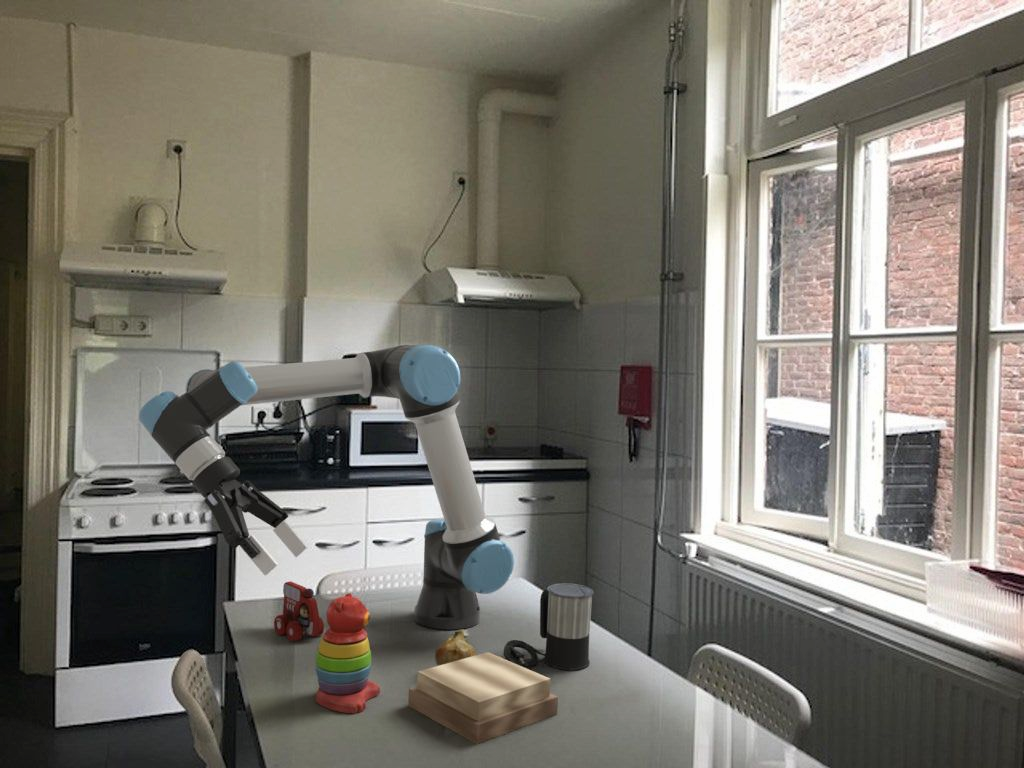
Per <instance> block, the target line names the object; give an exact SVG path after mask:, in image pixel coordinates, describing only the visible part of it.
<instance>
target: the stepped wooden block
mask: <svg viewBox="0 0 1024 768" xmlns="http://www.w3.org/2000/svg"><path fill="white" fill-rule="evenodd" d="M416 681H417V682H416V686H412V687H409V688H408V701H407V703H408V704H407V706H408V707H410V708H411V709H413V710H415V711H416V710H417V712H418V713H420V714H422V715H424V716H425V717H427V718H429V719H431V720H433V721H434V722H436V723H438V724H440V725H442V726H444V727H445V728H447V729H449V730H450V731H452V732H453V733H456V734H458V735H459V736H461V737H463V738H464V739H466V740H469V741H471V742H472V743H474V744H476V745H478V744H479V745H480V744H481V743H484V742H486V741H490V740H492V739H495V738H498V737H500V736H503V735H505V734H508V733H511V732H514V731H517V730H519V729H521V728H524V727H528V726H530V725H532V724H535V723H538V722H540V721H543V720H546V719H548V718H551V717H553V716H556V715H558V705H559V696H557V695H555V694H553V693H551V678H550V677H547V676H545V675H543V674H540V673H538V672H536V671H534V670H530V669H529V668H527V667H522V666H519V665H517V664H515V663H512V662H510V661H508V660H506V658H503V657H501V656H498V655H497V654H496V655H495V654H493V653H491V652H488V651H487V652H483V653H480V654H479V653H478V654H476V656H472V657H468V658H465V659H461V660H458V661H454V662H450V663H447V664H443V665H440V666H438V665H437V666H433V667H429V668H426V669H422V670H419V671H418V670H417V680H416Z"/></svg>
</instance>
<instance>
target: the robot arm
mask: <svg viewBox="0 0 1024 768" xmlns="http://www.w3.org/2000/svg"><path fill="white" fill-rule="evenodd" d="M186 381H187V382H186V384H185V390H184V391H185V392H184V393H182V394H181V395H177V394H176V393H175V392H173V391H169V390H167V391H163V392H161V393H160V394H158V395H157V394H156V395H155V396H154V397H152V398H151V399H149V400H148V401H147V402H146V403H145V404H144V405H143V406H142V407H141V409H140V411H139V414H138V420H139V422H140V423H141V424H142V425H143V427H144V428H145V430H146V431H147V432H148V433H149V435H150V436H151V437H152V438H153V440H154V441H155V442H156V443H157V444H158V446H159V447H160V448H161V449H162V450H163V451H164V453H165V454H166V455H167V456H168V457H169V458H170V459H171V460H172V461H173V462H174V464H175V465H176V466H177V467H178V468H179V470H180V471H179V473H180V474H182V475H185V477H186V478H187V479H188V480H189V481H192V486H193V487H194V488H195V489H196V490H197V491H198V493H199V494H200V495H201V496H202V497H203V498H204V503H205V504H206V505H207V506H208V507H209V509H210V511H211V513H212V514H213V516H214V519H215V521H216V523H217V525H218V527H219V530H220V531H221V533H222V536H223V538H224V540H225V542H226V543H227V544H228V545H229V546H230V548H232V549H237V547H240V548H241V549H242V551H243V552H244V553H245V554H246V555H247V557H249V559H250V560H251V561H252V562H253V564H254V565H255V566H256V567H257V568H258V570H259V571H260V572H261V573H262V574H263V575H264V576H267V575H268V574H270V573H271V572H272V571H273V570H274V569H275V568H276V567H277V566H278V565H279V563H278V562H277V561H276V560H275V558H274V557H273V556H272V554H271V553H270V552H269V551H268V550H267V549H266V548H265V547H264V545H263V544H262V543H261V542H260V540H258V539H257V537H256V536H255V535H254V534H251V535H250V533H249V530H248V527H247V526H248V525H247V523H246V520H245V516H244V513H245V514H246V513H249V514H251V515H253V516H254V517H256V518H257V519H260V521H262V522H264V523H266V524H268V526H271V527H272V528H273V529H272V531H273V532H274V533H275V535H276V536H277V537H278V538H279V539H280V540H281V542H282V543H283V544H284V546H286V547H287V549H288V550H289V551H290V553H292V555H293V556H294V557H295V558H298V557H299V556H300V555H301V554H302V553H303V552H304V551H305V550H306V549H307V548H308V545H307V544H306V543H305V541H303V539H302V538H301V537H300V536H299V534H298V533H297V532H296V531H295V530H294V529H293V527H291V525H290V524H289V523H288V522H287V520H286V519H288V518H289V514H288V512H286V511H285V510H284V509H283V508H281V507H280V506H279V505H278V504H276V502H274V501H273V500H272V499H270V498H269V497H268V496H266V495H265V494H264V493H263V492H261V491H260V490H259V489H258V488H257V487H256V486H255V485H254V484H253V483H252V482H251V481H250V480H248V479H247V480H245V482H243V483H241V482H240V481H239V480H238V477H239V475H240V473H241V470H240V468H239V467H238V466H237V465H236V464H235V462H234V461H233V460H232V459H231V458H230V457H229V456H226V451H225V450H224V449H223V448H222V446H220V444H219V443H217V441H216V440H215V438H213V437H212V436H211V434H210V433H208V430H209V429H210V428H212V427H213V426H214V425H216V424H217V423H218V422H220V421H221V420H222V419H224V418H225V417H227V416H228V415H230V414H231V413H232V412H233V411H235V410H237V409H238V408H239V407H242V406H249V405H250V406H251V405H258V404H260V405H261V404H268V403H277V402H279V403H280V402H287V401H297V400H298V401H299V400H306V399H307V400H308V399H316V398H317V399H318V398H325V397H326V398H327V397H335V396H337V397H338V396H344V395H345V396H348V395H356V394H357V395H358V394H359V395H360V396H361V397H363V398H373V397H379V398H381V397H383V398H391V399H396V400H397V399H399V401H400V404H401V407H402V411H403V414H404V418H405V419H407V420H409V421H410V422H411V423H413V424H414V425H415V428H416V431H417V434H418V439H419V441H420V445H421V447H422V451H423V454H424V455H423V456H424V457H425V461H426V463H427V467H428V470H429V474H430V478H431V480H432V483H433V484H432V485H433V487H434V491H435V494H436V497H437V500H438V503H439V507H440V509H441V513H442V516H443V518H440V519H439V518H438V519H432V520H430V521H427V522H426V525H425V530H424V531H425V532H424V534H423V538H424V549H423V550H424V552H423V553H424V554H423V577H422V578H423V581H422V583H423V584H422V588H421V590H420V593H419V597H418V600H417V604H416V605H415V606H414V612H413V614H414V615H413V620H414V622H415V623H417V624H419V625H420V626H423V627H426V628H431V629H436V630H437V629H438V630H463V629H467V628H471V627H474V626H476V625H478V624H479V623H480V622H481V612H482V611H481V607H480V605H479V600H478V597H477V594H479V595H489V594H492V593H493V594H494V593H496V592H497V591H499V590H500V589H501V588H503V587H505V585H506V584H507V582H508V581H509V579H510V577H511V575H512V574H513V572H514V565H515V557H514V554H513V551H512V550H511V548H510V546H509V545H508V544H507V543H506V542H504V541H503V540H501V537H500V535H499V532H498V531H499V530H498V528H497V525H496V522H495V520H494V518H491V517H489V516H487V515H486V513H485V509H484V506H483V503H482V499H481V496H480V493H479V488H478V486H477V482H476V479H475V476H474V472H473V469H472V465H471V462H470V457H469V455H468V451H467V448H466V446H465V444H466V443H465V442H464V438H463V435H462V431H461V428H460V425H459V420H458V418H457V414H456V409H457V408H458V406H459V404H460V398H459V395H458V388H459V386H460V384H461V371H460V368H459V365H458V362H457V361H456V359H455V358H454V357H453V356H452V354H451V353H449V352H448V351H447V350H445V349H443V348H441V347H439V346H435V345H431V344H412V345H410V344H403V345H397V346H392V347H387V348H383V349H378V350H373V351H363V352H358V354H356V356H355V357H351V358H340V359H336V358H335V359H327V360H326V359H324V360H315V361H314V360H313V361H304V362H303V361H302V362H292V363H291V362H289V363H279V364H267V365H256V366H255V365H254V366H245V367H244V365H242V364H241V363H240V362H239V361H235V360H232V361H229V362H228V363H227V364H224V365H223V366H220V367H219V368H218V369H209V368H207V369H201V370H200V369H199V370H198V371H196V372H194V373H192V374H191V376H190V377H189V378H188V380H186Z"/></svg>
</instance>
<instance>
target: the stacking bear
mask: <svg viewBox="0 0 1024 768" xmlns="http://www.w3.org/2000/svg"><path fill="white" fill-rule="evenodd" d="M370 619H371V614H370V611H369V610H368V609H367V608H366V606H365V605H364V604H363V602H362V601H361V600H360V599H359V598H357V597H355V596H353V595H352V593H351V592H349V593H346V594H345V595H344V596H339V597H336V598H335V599H333V600H332V601H331V602H330V603H329V605H328V607H327V609H326V621H327V625H328V629H327V630H326V631H325V632H324V634H323V636H322V637H321V639H320V640H319V641H320V642H319V644H318V650H317V653H316V656H315V657H316V658H315V671H316V672H315V673H316V676H317V682H318V686H319V687H318V689H317V691H316V695H315V700H316V703H318V704H319V705H320V706H322V707H323V708H326V709H329V710H331V711H336V712H340V713H346V714H357V713H361V712H363V711H364V710H365V709H366V708H367V703H366V702H367V701H368V700H369V699H372V698H375V697H377V696H378V695H379V694H380V693H381V691H380V690H381V689H380V686H379V685H378V684H377V683H375V682H373V681H371V680H369V677H370V676H369V675H370V671H371V667H372V652H371V648H370V641H369V638H368V632H366V630H365V629H364V628H365V627H367V625H368V623H369V621H370Z"/></svg>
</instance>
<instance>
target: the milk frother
mask: <svg viewBox="0 0 1024 768" xmlns="http://www.w3.org/2000/svg"><path fill="white" fill-rule="evenodd" d="M594 592H595V591H594V590H593V589H592V588H590V587H588V586H586V585H581V584H576V583H569V582H568V583H565V582H563V583H554V584H552V585H548V587H547V588H546V589H544V590H543V591H542V592H541V595H540V600H539V602H540V603H539V604H540V605H539V611H540V612H539V635H540V637H541V638H542V639H546V641H545V653H542V652H541V651H539V650H538V649H536V647H534V646H532V645H531V644H529V643H527V642H525V641H523V640H516V639H511V640H509V641H507V642H506V643H505V645H504V646H503V648H504V649H503V656H504V659H505V660H508V661H510V662H512V663H515V664H517V665H519V666H522V667H524V668H531V667H534V666H535V665H536V664H537V663H538V662H537V661H538V655H540V656H543V662H544V663H545V664H546V665H547V666H549V667H551V668H555V669H559V670H565V671H577V670H578V671H579V670H583V669H586V668H588V666H589V665H590V663H591V661H590V659H589V655H590V653H589V652H590V649H589V648H590V631H591V630H590V629H591V616H592V615H591V614H592V600H593V594H594ZM515 648H519V649H523V650H524V651H526V652H528V654H530V655H529V656H530V657H531V658H530V659H529V660H527V661H526V660H524V658H525V654H524V653H521V652H520V651H519V650H518V649H515Z"/></svg>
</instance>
